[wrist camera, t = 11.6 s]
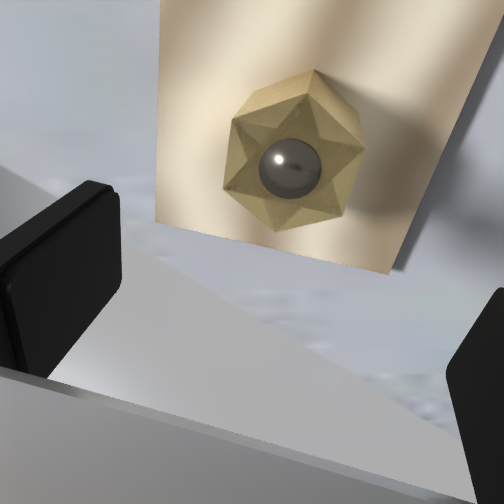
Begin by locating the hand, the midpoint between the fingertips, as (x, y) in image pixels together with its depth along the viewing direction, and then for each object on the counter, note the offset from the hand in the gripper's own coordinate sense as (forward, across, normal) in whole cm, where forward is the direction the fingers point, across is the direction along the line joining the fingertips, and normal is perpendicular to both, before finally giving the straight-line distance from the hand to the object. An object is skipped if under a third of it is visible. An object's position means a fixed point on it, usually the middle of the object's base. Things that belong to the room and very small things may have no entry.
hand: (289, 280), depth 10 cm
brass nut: (+12, +1, 0) cm, 12 cm away
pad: (+13, +1, 0) cm, 13 cm away
